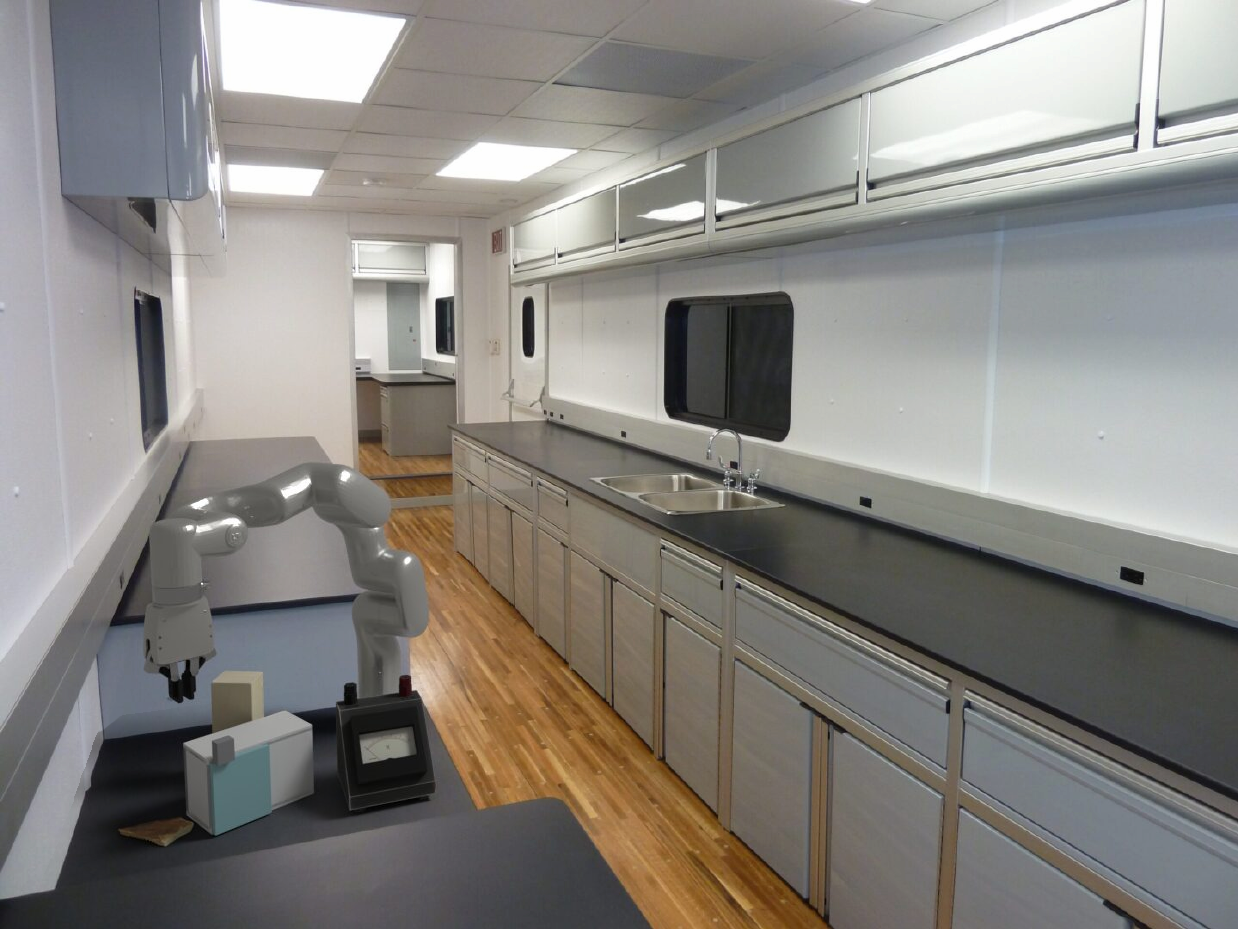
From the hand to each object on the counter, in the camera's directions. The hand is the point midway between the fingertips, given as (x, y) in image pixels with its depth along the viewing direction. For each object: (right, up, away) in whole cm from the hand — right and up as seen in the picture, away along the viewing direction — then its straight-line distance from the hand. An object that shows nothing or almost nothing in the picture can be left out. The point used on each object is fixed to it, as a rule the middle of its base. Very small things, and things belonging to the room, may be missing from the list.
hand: (182, 698), depth 150 cm
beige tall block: (-3, -24, +29) cm, 38 cm away
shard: (-8, -27, +7) cm, 29 cm away
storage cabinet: (+4, -25, +19) cm, 31 cm away
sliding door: (+6, -26, +11) cm, 28 cm away
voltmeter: (+28, -25, +25) cm, 45 cm away
